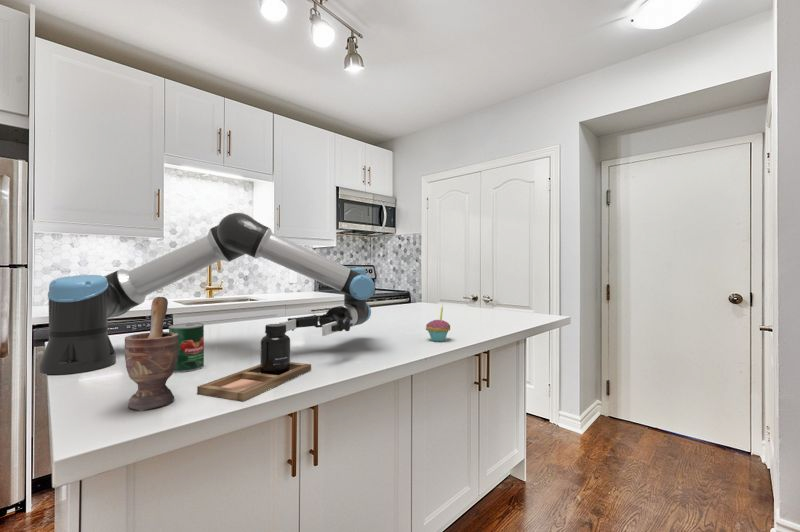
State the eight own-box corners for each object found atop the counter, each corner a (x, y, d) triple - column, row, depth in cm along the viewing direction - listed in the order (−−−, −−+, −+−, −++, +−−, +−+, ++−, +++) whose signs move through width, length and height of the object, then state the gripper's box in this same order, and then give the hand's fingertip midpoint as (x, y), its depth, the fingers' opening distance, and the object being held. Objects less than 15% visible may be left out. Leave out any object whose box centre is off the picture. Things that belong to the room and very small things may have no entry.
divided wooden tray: (197, 393, 79) (197, 386, 79) (272, 365, 100) (272, 359, 100) (243, 401, 74) (243, 393, 74) (311, 370, 96) (311, 364, 96)
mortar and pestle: (121, 398, 76) (120, 297, 76) (171, 388, 82) (170, 295, 82) (127, 415, 67) (127, 302, 67) (182, 404, 73) (182, 299, 73)
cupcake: (438, 336, 139) (438, 304, 139) (455, 340, 133) (455, 306, 132) (420, 339, 134) (420, 305, 134) (438, 344, 127) (438, 307, 127)
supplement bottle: (281, 379, 88) (281, 327, 88) (254, 377, 90) (254, 326, 89) (295, 371, 95) (295, 323, 95) (270, 369, 96) (270, 322, 96)
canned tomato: (194, 372, 94) (193, 327, 94) (161, 372, 94) (161, 327, 94) (209, 363, 102) (209, 322, 102) (180, 363, 102) (179, 322, 102)
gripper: (377, 331, 117) (342, 346, 97) (307, 327, 126) (263, 340, 106) (376, 307, 117) (342, 317, 97) (307, 304, 126) (263, 313, 106)
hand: (301, 329), depth 101 cm, fingers open, 13 cm apart
